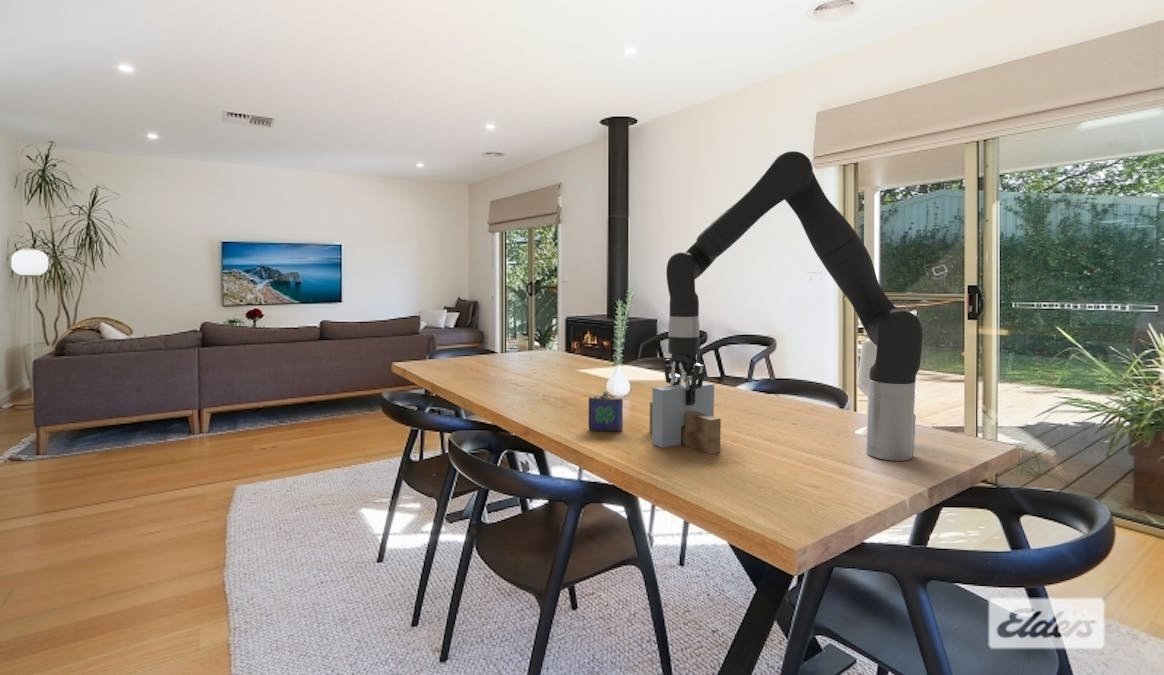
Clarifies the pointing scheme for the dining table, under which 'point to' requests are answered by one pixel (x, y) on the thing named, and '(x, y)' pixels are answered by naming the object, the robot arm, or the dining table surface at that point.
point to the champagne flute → (865, 373)
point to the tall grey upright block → (676, 411)
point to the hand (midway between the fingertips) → (683, 402)
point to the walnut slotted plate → (699, 431)
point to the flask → (605, 413)
